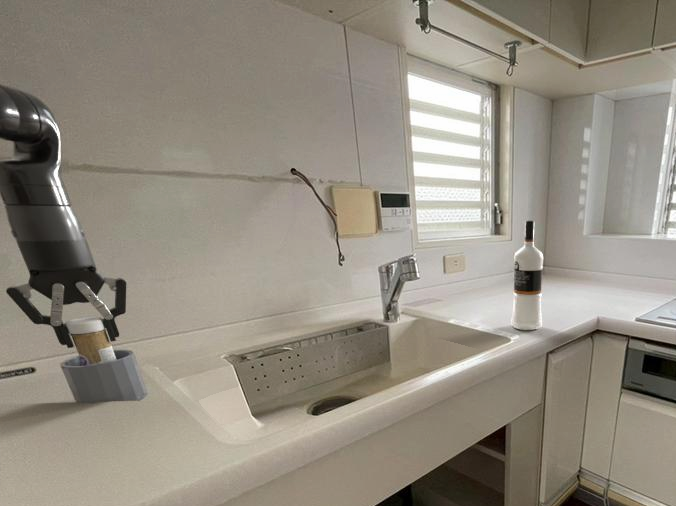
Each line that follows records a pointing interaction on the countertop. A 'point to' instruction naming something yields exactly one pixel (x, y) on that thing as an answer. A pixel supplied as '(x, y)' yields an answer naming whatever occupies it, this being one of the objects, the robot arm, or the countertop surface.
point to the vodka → (527, 283)
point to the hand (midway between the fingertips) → (92, 343)
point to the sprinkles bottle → (91, 340)
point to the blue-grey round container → (105, 379)
